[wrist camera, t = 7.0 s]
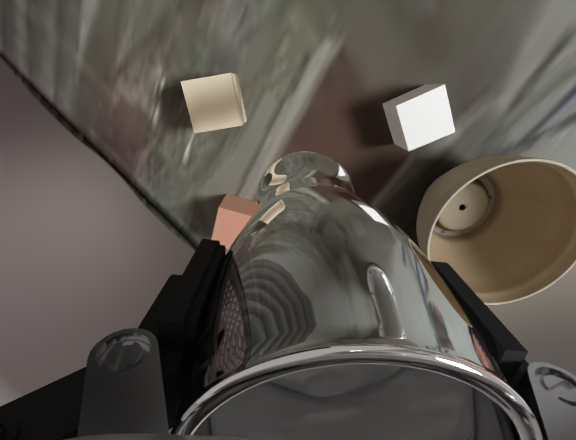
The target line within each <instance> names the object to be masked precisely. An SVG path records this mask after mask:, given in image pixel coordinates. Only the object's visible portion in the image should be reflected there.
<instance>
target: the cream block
mask: <svg viewBox="0 0 576 440" xmlns="http://www.w3.org/2000/svg"><path fill="white" fill-rule="evenodd" d="M382 105H383V108H384V112H385V115H386V118H387V122H388V125H389V128H390V132H391V135H392V138H393V142H394V144H395V145H397V146H399V147H401V148H403V149H405V150H407V151H411V150H413V149H416V148H418V147H420V146H423V145H425V144H428V143H430V142H432V141H435V140H437V139H440V138H442V137H444V136H447V135H449V134H452V133H454V132H455V128H454V124H453V119H452V115H451V110H450V106H449V101H448V96H447V92H446V87H445V84H439V85H423V86H421V87H419V88H416V89H414V90H412V91H410V92H407V93H405V94H403V95H401V96H398V97H396V98H394V99H392V100H389V101H387V102H385V103H383V104H382Z"/></svg>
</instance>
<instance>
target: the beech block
mask: <svg viewBox="0 0 576 440" xmlns="http://www.w3.org/2000/svg"><path fill="white" fill-rule="evenodd" d="M181 85H182V89H183V93H184V96H185V100H186V104H187V108H188V111H189V115H190V119H191V123H192V126H193V130H194V133H199V132H205V131H211V130H217V129H223V128H230V127H236V126H241V125H242V124H244V123H245V122H246V121H247V120H246V115H245V110H244V105H243V99H242V94H241V89H240V84H239V79H238V75H236V74H233V73H227V74H221V75H215V76H209V77H204V78H198V79H192V80H186V81H181Z"/></svg>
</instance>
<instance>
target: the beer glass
mask: <svg viewBox="0 0 576 440" xmlns="http://www.w3.org/2000/svg"><path fill="white" fill-rule="evenodd" d="M256 203H257V211H256V212H255V213H254V214H253V216H252V217H251V218H250V219H249V220H248V222H247V223H246V224H245V225H244V227H243V228H242V230H241V231H240V233H239V234H238V236H237V237H236V239H235V240H234V242H233V243H232V245H231V246H230V248H229V250H228V251H227V253H226V255H225V257H224V260H223V262H222V264H221V266H220V269H219V271H218V273H217V276H216V278H215V280H214V283H213V286H212V289H211V292H210V295H209V298H208V301H207V304H206V307H205V310H204V313H203V316H202V319H201V323H200V326H199V330H198V333H197V337H196V340H195V344H194V347H193V351H192V355H191V358H190V362H189V366H188V370H187V375H186V379H185V383H184V387H183V391H182V395H181V399H180V403H179V407H178V411H177V415H176V418H175V422H174V425H173V429H172V431H171V433H170V434H178V435H200V436H222V437H239V438H254V439H270V440H543V437H542V433H541V430H540V427H539V424H538V422H537V420H536V418H535V416H534V414H533V412H532V411H531V409H530V407H529V406H528V405H527V403H526V402H525V401H524V400H523V398H522V397H521V396H520V395H519V394H518V393H517V392H516V391H515V389H514V388H513V386H512V385H511V383H510V382H509V380H508V379H507V377H506V376H505V374H504V373H503V371H502V369H501V368H500V366H499V365H498V363H497V362H496V360H495V359H494V357H493V355H492V354H491V352H490V350H489V349H488V347H487V346H486V344H485V342H484V341H483V339H482V337H481V336H480V334H479V333H478V331H477V329H476V328H475V326H474V324H473V323H472V321H471V320H470V318H469V317H468V315H467V314H466V312H465V311H464V309H463V308H462V306H461V304H460V303H459V301H458V300H457V298H456V297H455V295H454V294H453V292H452V291H451V289H450V288H449V286H448V285H447V284H446V282H445V281H444V280H443V278H442V277H441V275H440V274H439V273H438V271H437V270H436V269H435V267H434V266H433V265H432V263H431V262H430V261H429V259H428V258H427V257H426V255H425V254H424V253H423V252H422V251H421V250H420V249H419V247H418V246H417V245H416V244H415V243H414V242H413V241H412V240H411V239H410V237H409V236H408V235H407V234H406V233H405V232H404V231H403V230H402V229H401V228H400V227H399V226H398V225H397V224H396V223H395V222H393V221H392V220H391V219H390V218H388V217H387V216H386V215H385V214H383V213H382V212H381V211H380V210H378V209H377V208H376V207H374V206H373V205H371V204H370V203H368V202H367V201H365V200H364V199H362V198H360V197H359V196H357V195H356V192H355V187H354V184H353V182H352V179H351V177H350V175H349V174H348V172H347V171H346V169H345V168H344V167H343V166H342V165H341V164H340V163H339V162H338V161H336V160H335V159H333V158H332V157H330V156H328V155H325V154H322V153H318V152H312V151H301V152H295V153H292V154H289V155H286V156H284V157H282V158H280V159H279V160H277V161H276V162H274V163H273V164H272V165H271V166H270V167H269V168H268V169H267V170H266V172H265V173H264V175H263V176H262V178H261V180H260V182H259V185H258V189H257V196H256Z"/></svg>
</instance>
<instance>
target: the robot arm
mask: <svg viewBox="0 0 576 440" xmlns="http://www.w3.org/2000/svg"><path fill="white" fill-rule="evenodd" d="M224 257H225V245H220V241H219V240H208V239H202V241H201V242H200V244H199V246H198V248H197V250H196V251H195V253H194V255H193V257H192V259H191V260H190V263H189V264H188V266H187V268H186V270H185V271H184V273H183V275H171V276H170V277H169V279H168V280H167V282H166V284H165V285H164V287H163V288H162V290H161V292H160V293H159V295H158V296H157V298H156V300H155V301H154V303H153V304H152V306H151V308H150V309H149V311H148V312H147V314H146V316H145V317H144V319H143V320H142V322H141V324H140V326H139V327H138V328H131V329H124V330H120V331H117V332H114V333H112V334H110V335H108V336H106V337H104V338H103V339H102V340H100V341H99V342H98V343H96V345H95V346H94V347H93V348H92V350H91V351H90V353H89V356H88V359H87V364H86V367H85V368H82V369H80V370H78V371H76V372H74V373H72V374H70V375H67V376H65V377H63V378H61V379H59V380H57V381H55V382H52V383H50V384H48V385H46V386H44V387H42V388H40V389H38V390H35V391H33V392H31V393H29V394H27V395H24V396H23V397H20V398H18V399H16V400H14V401H12V402H9V403H7V404H5V405H3V406H1V407H0V440H270V439H254V438H239V437H222V436H200V435H178V434H169V429H171V428H172V427H173V425H174V422H175V418H176V415H177V411H178V407H179V403H180V399H181V395H182V391H183V387H184V383H185V379H186V375H187V370H188V366H189V362H190V358H191V355H192V351H193V347H194V344H195V340H196V337H197V333H198V330H199V326H200V323H201V319H202V316H203V313H204V310H205V307H206V304H207V301H208V298H209V295H210V292H211V289H212V286H213V283H214V280H215V278H216V276H217V273H218V271H219V269H220V266H221V264H222V262H223V260H224ZM430 262H431V263H432V265H433V266H434V267H435V269H436V270H437V271H438V273H439V274H440V275H441V277H442V278H443V280H444V281H445V282H446V284H447V285H448V286H449V288H450V289H451V291H452V292H453V294H454V295H455V297H456V298H457V300H458V301H459V303H460V304H461V306H462V308H463V309H464V311H465V312H466V314H467V315H468V317H469V318H470V320H471V321H472V323H473V324H474V326H475V328H476V329H477V331H478V333H479V334H480V336H481V337H482V339H483V341H484V342H485V344H486V346H487V347H488V349H489V350H490V352H491V354H492V355H493V357H494V359H495V360H496V362H497V363H498V365H499V366H500V368H501V369H502V371H503V373H504V374H505V376H506V377H507V379H508V380H509V382H510V383H511V385H512V386H513V388H514V389H515V391H516V392H517V393H518V394H519V395H520V396H521V397H522V398H523V400H524V401H525V402H526V403H527V405H528V406H529V407H530V409H531V411H532V412H533V414H534V416H535V418H536V420H537V422H538V424H539V427H540V430H541V433H542V437H543V440H576V376H574V375H573V374H571V373H569V372H567V371H566V370H564V369H562V368H559V367H557V366H555V365H552V364H548V363H544V362H534V363H531V364H530V365H529V364H528V363H527V362H526V361H525V359H524V358H525V357H526V355H527V353H528V351H527V350H526V349H525V348H524V347H523V346H522V345H521V344H520V343H519V341H518V340H517V339H516V338H515V337H514V336H513V335H512V334H511V333H510V332H509V330H508V329H507V328H506V327H505V326H504V325H503V324H502V323H501V321H500V320H499V319H498V318H497V317H496V316H495V315H494V314H493V313H492V311H490V309H489V308H488V307H487V306H486V305H485V304H484V303H483V301H482V300H481V299H480V298H479V297H478V296H477V295H476V294H475V293H474V291H473V290H472V289H471V288H470V287H469V286H468V285H467V284H466V283H465V281H464V280H463V279H462V278H461V277H460V276H459V275H458V274H457V273H456V271H455V270H454V269H453V268H452V267H451V266H450V265H449V264H448V263H446V262H436V261H430Z"/></svg>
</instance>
